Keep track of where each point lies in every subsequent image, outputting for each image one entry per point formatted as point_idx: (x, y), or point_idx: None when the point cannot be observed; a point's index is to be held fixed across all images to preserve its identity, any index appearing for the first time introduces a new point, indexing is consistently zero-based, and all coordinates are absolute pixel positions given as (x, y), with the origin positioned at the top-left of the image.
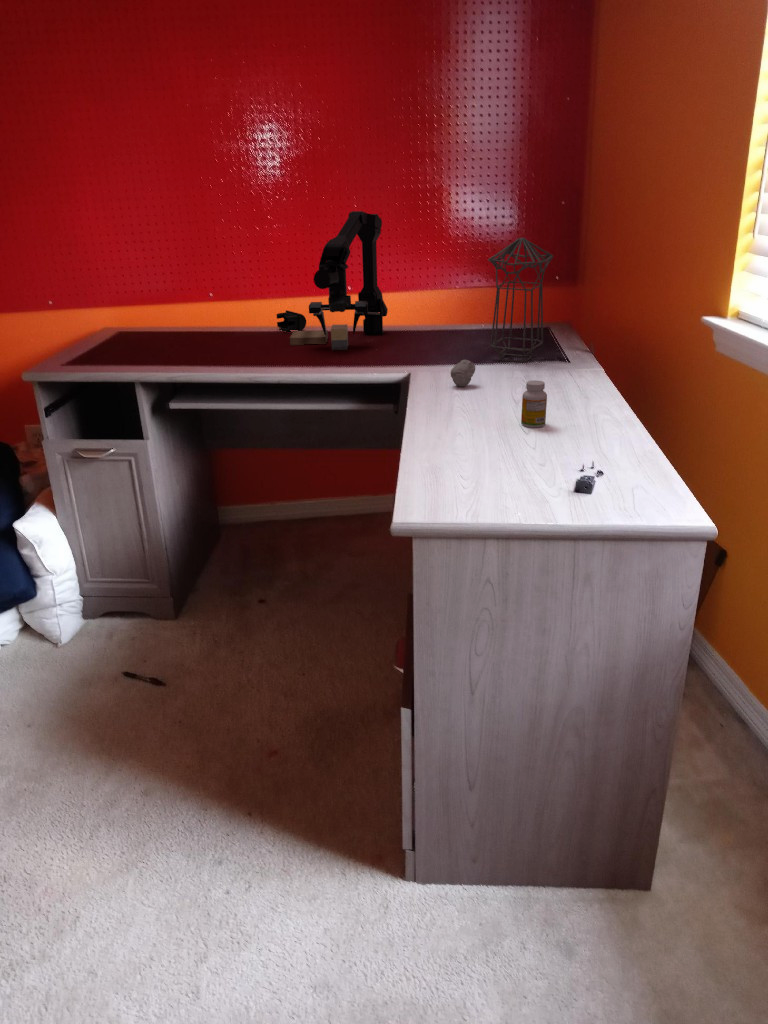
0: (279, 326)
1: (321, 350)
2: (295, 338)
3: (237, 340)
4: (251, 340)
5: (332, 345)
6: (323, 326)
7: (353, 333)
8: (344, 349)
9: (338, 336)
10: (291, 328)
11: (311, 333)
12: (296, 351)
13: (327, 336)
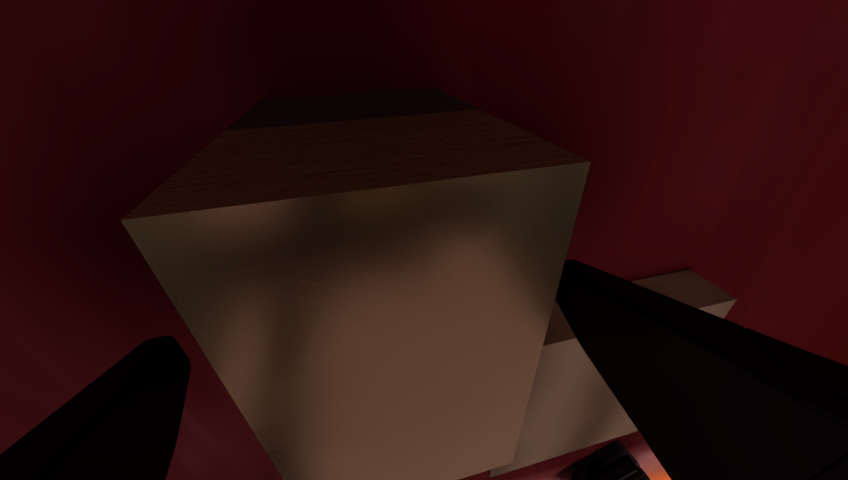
0: (646, 475)
1: (533, 117)
2: (700, 303)
3: (822, 327)
4: (781, 335)
5: (443, 99)
6: (686, 317)
7: (155, 339)
8: (292, 100)
9: (376, 131)
10: (622, 466)
11: (582, 410)
12: (729, 80)
13: None
